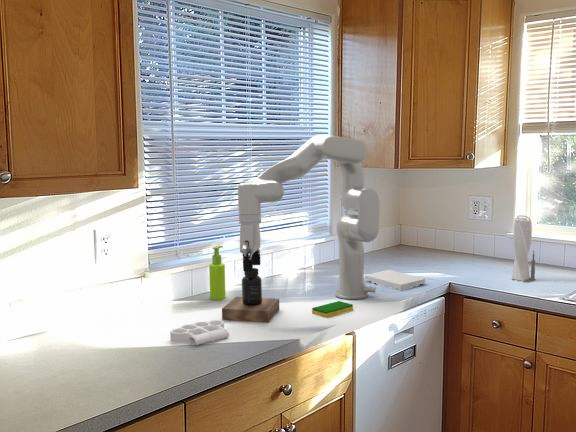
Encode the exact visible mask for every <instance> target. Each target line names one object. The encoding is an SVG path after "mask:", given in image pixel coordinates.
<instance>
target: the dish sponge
mask: <svg viewBox="0 0 576 432" xmlns="http://www.w3.org/2000/svg"><path fill="white" fill-rule="evenodd" d="M353 310H354V304H352V303H348V302H343V301H340V300H337V301H334V302H330V303H327V304H323V305H317V306H315V307H312V308H311V314H312V315H315V316H319V317H323V318H330V317H333V316H338V315H341V314H345V313H349V312H351V311H353Z"/></svg>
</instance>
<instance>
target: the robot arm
mask: <svg viewBox="0 0 576 432" xmlns="http://www.w3.org/2000/svg"><path fill="white" fill-rule="evenodd" d="M367 153H368V149H367V146H366V144H365V143H364V142H363V141H362V140H359V139H356V138H355V139H354V138H349V137H344V136H343V137H342V136H337V135H332V134H331V135H329V134H328V135H327V134H326V135H324V134H322V135H321V134H320V135H314V136H312V137H311V138H310V139H308V140H307V141H306V142H305V143H303V144H302V145H301V146H300V147H299V148H297V149H296V150H295V151H294V152H293V153H292V154H291V155H290V156H288V157H287V158H284V159H283V160H281V161H279V162H278V163H276V164H274V165H272V166H270V167H269V168H267V169H266V170H264V171H263V172H262V173H261V174H260V175H258V176H257V177H256V178H255V179H253V181H248V182H240V183H238V186H237V199H238V200H237V201H238V202H237V203H238V222H239V224H240V229H239V252H240V253H241V254H242V270H243V272H244V271H247V272H252V271H253V268H254V266H261V250H260V248H261V229H260V224H261V223H262V208H261V207H262V206H261V205H262V203H269V204H270V203H271V204H272V203H276V202H279V201H281V200H282V199H283V197H284V194H285V188H284V187H283V185H282V184H283V183H287V182H289V181H293V180H297V179H300V178H302V177H305V175H307V174H308V173H309V172H310V171H311V170H312V169H313V168H314V167H315V166H317V165H318V164H319V163H320V162H322V161H323V160H332V161H333V162H334V163H335V165H337V166H338V168H339V170H340V173H341V195H340V196H341V197H340V200H341V201H340V202H341V205H342V207H343V208H344V209H345V210H347V211H350V212H356V213H357V212H358V213H357V214H353V213H348V214H344V215H341V216H340V217H339V219H338V220H337V222H336V234H337V239H338V252H339V253H338V257H339V258H338V260H339V261H338V267H339V269H338V276H339V277H338V279H339V281H338V282H339V283H338V290H336V291H334V295H335V297H337V298H339V299H343V300H344V299H345V300H361V299H366V298H367V297H368V296H369V293H373V294H375V293H376V287H374V286H367V285H366V282H365V248H364V244H363V243H371V242H373V241H374V240H375V239H376V238H377V236H378V234H379V229H380V211H381V210H380V208H381V206H380V205H381V204H380V203H381V200H380V196H379V194H378V192H377V191H376V190H375V189H374V188H372V187H369V186H365V172H364V171H365V170H364V168H363V165H362V162H363V161H364V160H365V159H366V157H367Z"/></svg>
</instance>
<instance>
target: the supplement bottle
mask: <svg viewBox="0 0 576 432" xmlns="http://www.w3.org/2000/svg"><path fill="white" fill-rule="evenodd" d="M243 272H244V276H243V277H242V278H241V297H242V301H243V304H245V305H259V304H261V303H262V298H263V285H262V278H261V276H260V275H259V268H257V267H256V268H255V267H253V271H252V272H247V271H243Z"/></svg>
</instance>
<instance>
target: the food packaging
mask: <svg viewBox="0 0 576 432" xmlns="http://www.w3.org/2000/svg"><path fill="white" fill-rule="evenodd" d="M364 280H368V281H370V282H371V284H372V283H376V284H375V285H377V284H380V285H384V286H388V287H387V288H389V287H392V288H395V289H394V290H398V289H399V290H398V291H403V290H402V289H405V290H408V289H407V288H409V289H411V288H410V287H413V288H415V287H414V286H417V285H419V286H421V285H420V284H422V285H425V284H426V278H424V277H420V276H415V275H412V274H408V273H403V272H399V271H395V270H391V269H386V270H382V271H378V272H373V273H368V274H364ZM380 285H379V286H380ZM384 286H383V287H384ZM392 288H391V289H392Z"/></svg>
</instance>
